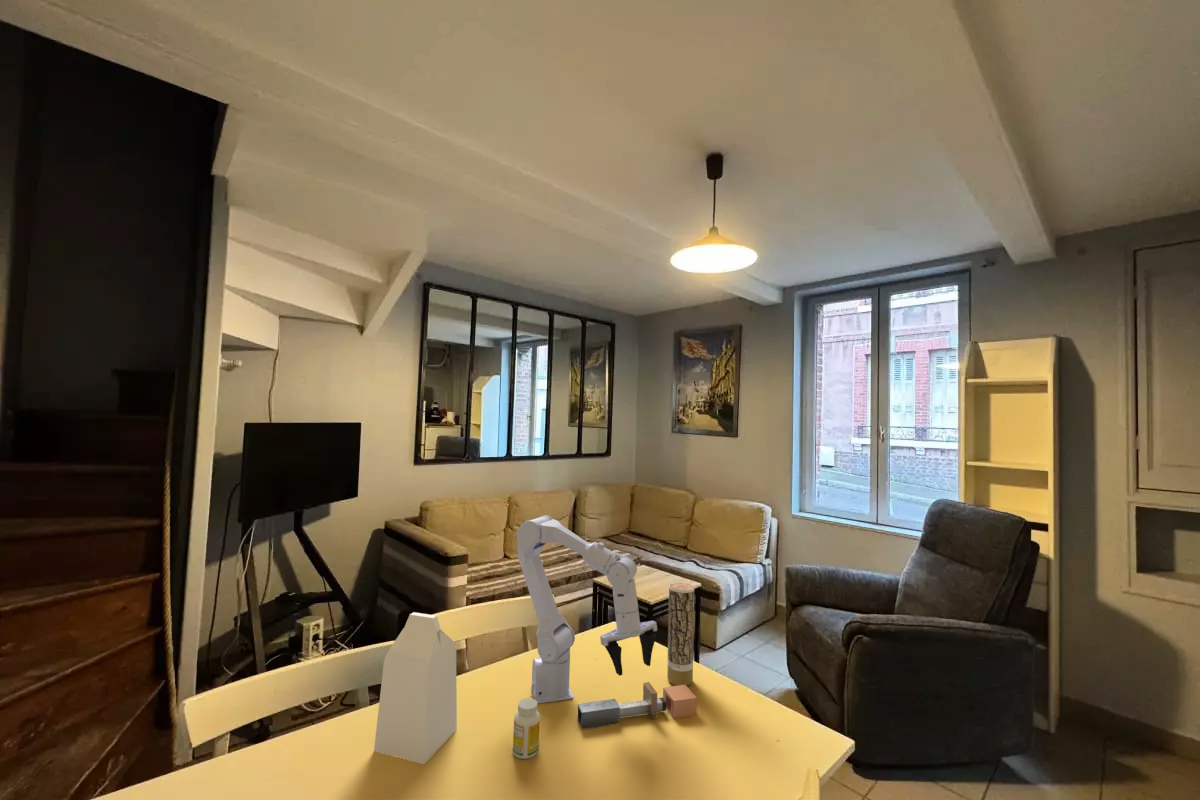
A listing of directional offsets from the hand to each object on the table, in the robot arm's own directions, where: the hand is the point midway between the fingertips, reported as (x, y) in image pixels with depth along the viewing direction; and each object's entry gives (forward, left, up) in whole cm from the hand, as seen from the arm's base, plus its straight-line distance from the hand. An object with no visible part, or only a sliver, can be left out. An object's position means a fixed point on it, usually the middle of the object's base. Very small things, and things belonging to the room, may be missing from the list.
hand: (633, 669), depth 113 cm
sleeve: (-9, -1, -10) cm, 14 cm away
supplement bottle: (-26, -7, -11) cm, 29 cm away
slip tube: (-2, -1, -10) cm, 11 cm away
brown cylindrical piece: (+18, +11, -11) cm, 24 cm away
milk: (-48, +2, -11) cm, 49 cm away
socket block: (+12, -1, -10) cm, 16 cm away
